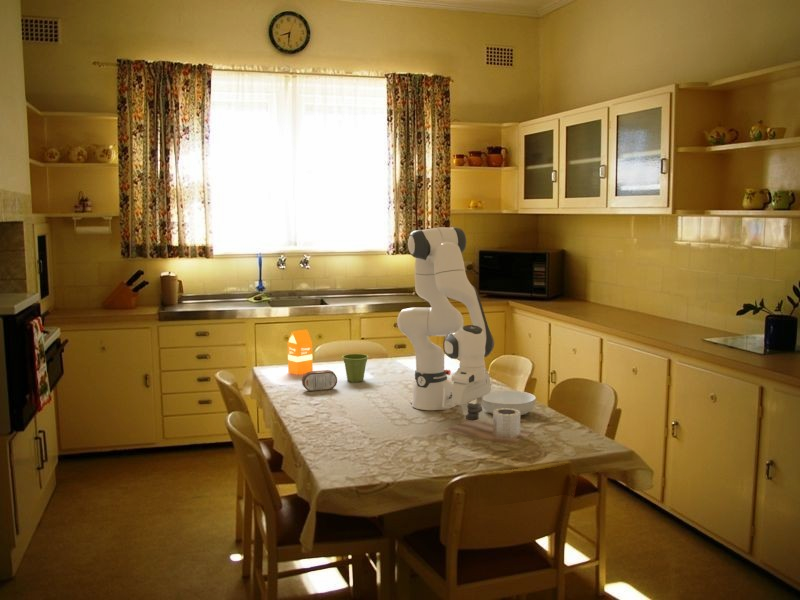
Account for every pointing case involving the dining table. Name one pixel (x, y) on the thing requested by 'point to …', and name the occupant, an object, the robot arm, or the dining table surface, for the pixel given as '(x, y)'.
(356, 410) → the dining table surface
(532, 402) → the serving bowl
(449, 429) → the walnut board
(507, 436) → the white cylinder
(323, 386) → the tin
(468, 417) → the control knob
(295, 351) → the orange juice
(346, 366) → the plant pot
